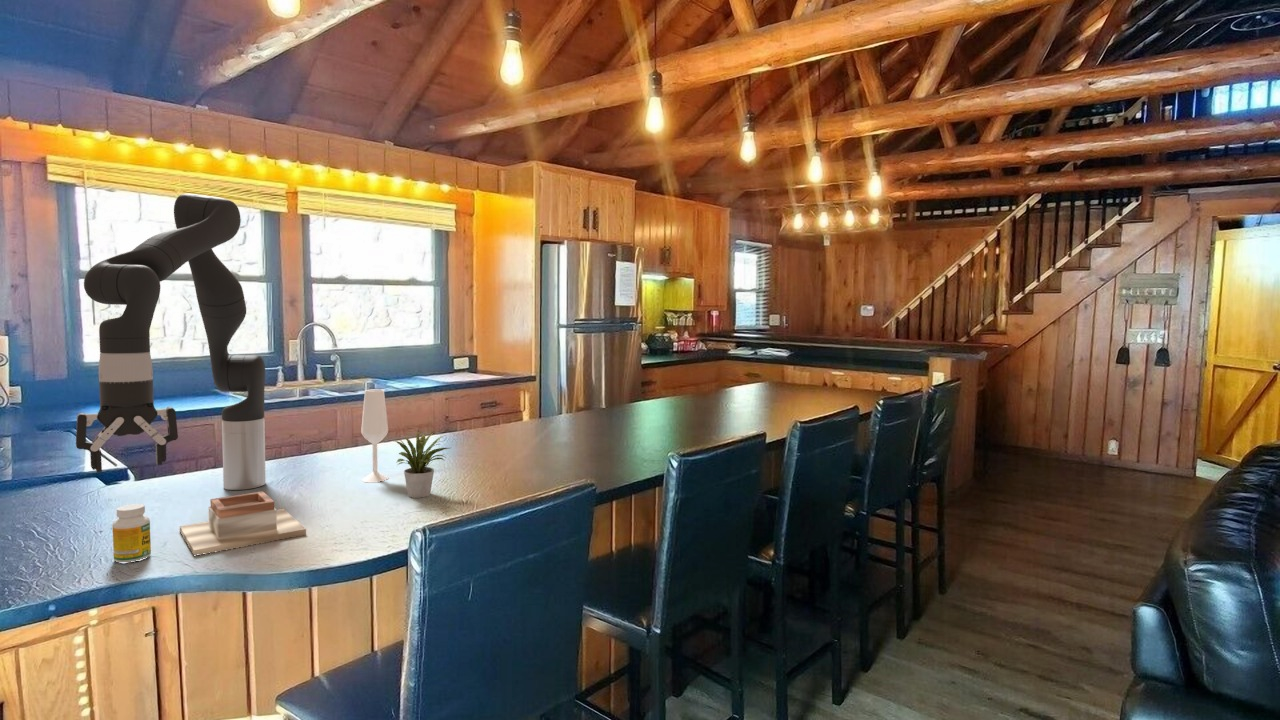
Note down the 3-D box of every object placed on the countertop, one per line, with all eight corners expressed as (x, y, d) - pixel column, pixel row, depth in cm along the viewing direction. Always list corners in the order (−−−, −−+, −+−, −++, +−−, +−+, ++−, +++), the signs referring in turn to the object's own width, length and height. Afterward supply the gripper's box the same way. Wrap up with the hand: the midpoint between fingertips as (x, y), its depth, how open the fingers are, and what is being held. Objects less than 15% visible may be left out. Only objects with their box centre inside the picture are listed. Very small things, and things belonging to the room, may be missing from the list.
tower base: (179, 531, 133) (178, 498, 133) (283, 514, 146) (283, 483, 146) (193, 556, 121) (192, 520, 120) (306, 534, 133) (305, 501, 133)
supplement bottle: (118, 555, 120) (116, 504, 120) (154, 551, 123) (152, 501, 122) (110, 566, 116) (107, 512, 115) (147, 561, 118) (145, 509, 117)
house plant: (411, 508, 152) (411, 438, 151) (373, 498, 159) (372, 431, 158) (458, 494, 164) (458, 429, 163) (421, 485, 171) (421, 423, 170)
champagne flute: (379, 474, 181) (378, 388, 180) (393, 478, 177) (393, 390, 176) (356, 479, 176) (355, 390, 174) (370, 483, 172) (370, 392, 170)
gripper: (172, 374, 124) (174, 459, 125) (72, 378, 115) (76, 469, 116) (178, 377, 119) (180, 466, 120) (74, 382, 109) (78, 478, 110)
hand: (129, 468), depth 118 cm, fingers open, 8 cm apart
